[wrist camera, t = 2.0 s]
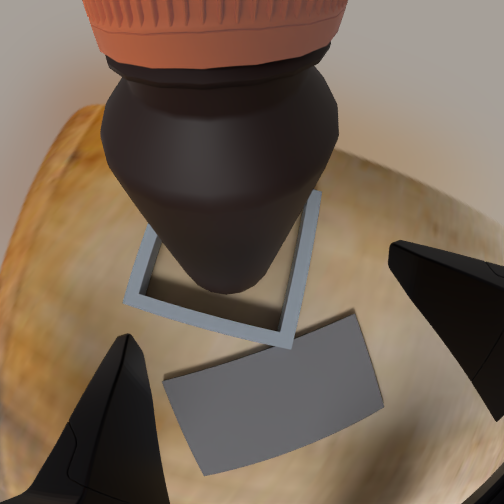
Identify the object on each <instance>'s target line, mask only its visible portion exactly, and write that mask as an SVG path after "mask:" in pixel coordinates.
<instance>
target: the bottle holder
mask: <svg viewBox="0 0 504 504" xmlns="http://www.w3.org/2000/svg"><path fill="white" fill-rule="evenodd" d="M321 195H322V192H321V191H317V190H314V189H313V191H312V193H311V194H310V196H309V198H308V200H307V202H306V203H305V205H304V207H303V212H302V217H301V223H300V228H299V233H298V238H297V243H296V248H295V253H294V257H293V262H292V267H291V272H290V276H289V281H288V286H287V290H286V295H285V299H284V303H283V308H282V312H281V317H280V321H279V325H278V329H277V331H272V330H268V329H264V328H259V327H255V326H251V325H247V324H243V323H239V322H235V321H231V320H227V319H223V318H219V317H216V316H212V315H208V314H205V313H201V312H197V311H194V310H190V309H187V308H183V307H180V306H177V305H173V304H170V303H167V302H163V301H160V300H157V299H154V298H150V297H147V296H145V294H146V291H147V287H148V284H149V281H150V277H151V274H152V271H153V268H154V264H155V261H156V258H157V255H158V252H159V249H160V246H161V243H162V241H161V239H160V238H159V237H158V235H157V234H156V233H155V231H154V230H153V229H152V227H151V226H150V224H149V223H148V225H147V228H146V231H145V233H144V236H143V239H142V242H141V245H140V248H139V251H138V254H137V257H136V260H135V263H134V266H133V269H132V272H131V276H130V279H129V282H128V286H127V289H126V292H125V296H124V299H123V304H126V305H129V306H132V307H135V308H138V309H141V310H144V311H147V312H150V313H153V314H156V315H159V316H162V317H166V318H169V319H172V320H175V321H179V322H182V323H185V324H189V325H192V326H196V327H199V328H203V329H207V330H210V331H214V332H218V333H222V334H225V335H229V336H233V337H237V338H241V339H245V340H250V341H254V342H258V343H263V344H267V345H272V346H276V347H281V348H286V349H291V348H292V344H293V340H294V336H295V331H296V327H297V322H298V318H299V313H300V309H301V304H302V300H303V295H304V290H305V285H306V280H307V275H308V270H309V265H310V260H311V254H312V249H313V243H314V238H315V232H316V226H317V220H318V214H319V208H320V201H321Z"/></svg>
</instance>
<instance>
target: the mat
mask: <svg viewBox="0 0 504 504" xmlns="http://www.w3.org/2000/svg"><path fill="white" fill-rule="evenodd" d="M162 383H163V386H164V388H165V391H166V394H167V396H168V399H169V401H170V404H171V406H172V409H173V411H174V413H175V416H176V418H177V421H178V423H179V425H180V427H181V430H182V432H183V434H184V436H185V439H186V441H187V443H188V445H189V447H190V449H191V451H192V453H193V455H194V457H195V459H196V461H197V463H198V465H199V467H200V469H201V471H202V473H203V475H204V476H207V475H212V474H216V473H221V472H225V471H229V470H233V469H237V468H241V467H244V466H248V465H251V464H255V463H258V462H261V461H264V460H267V459H271V458H274V457H276V456H279V455H282V454H285V453H288V452H291V451H293V450H296V449H298V448H301V447H304V446H306V445H308V444H311V443H313V442H316V441H318V440H320V439H323V438H325V437H327V436H329V435H332V434H334V433H336V432H338V431H340V430H342V429H344V428H346V427H348V426H350V425H352V424H354V423H356V422H358V421H360V420H362V419H364V418H366V417H367V416H369V415H371V414H373V413H375V412H376V411H378V410H380V409H382V408H383V407H384V405H383V401H382V397H381V394H380V390H379V387H378V383H377V380H376V377H375V373H374V370H373V367H372V364H371V360H370V357H369V354H368V351H367V348H366V345H365V342H364V339H363V336H362V333H361V330H360V327H359V324H358V321H357V318H356V316H355V314H352V315H350V316H347V317H345V318H343V319H341V320H338V321H336V322H334V323H331V324H329V325H327V326H324V327H322V328H320V329H317V330H315V331H312V332H310V333H307V334H305V335H302V336H300V337H297V338H295V339H294V340H293V344H292V348H291V349H286V348H281V347H276V346H274V347H271V348H268V349H265V350H262V351H260V352H257V353H254V354H251V355H248V356H245V357H242V358H239V359H236V360H233V361H230V362H227V363H224V364H220V365H217V366H214V367H211V368H207V369H204V370H201V371H197V372H194V373H190V374H186V375H183V376H179V377H175V378H172V379H168V380H164V381H162Z"/></svg>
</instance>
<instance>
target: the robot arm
mask: <svg viewBox="0 0 504 504" xmlns="http://www.w3.org/2000/svg"><path fill="white" fill-rule="evenodd" d="M388 266H389V268H390V270H391V271H392V273H393V274H394V276H395V277H396V279H397V280H398V282H399V283H400V285H401V286H402V287H403V289H404V290H405V292H406V293H407V295H408V296H409V298H410V299H411V301H412V302H413V303H414V304H415V306H416V307H417V308H418V309H419V311H420V312H421V313H422V314H423V316H424V317H425V318H426V320H427V321H428V322H429V323H430V325H431V326H432V327H433V329H434V330H435V331H436V333H437V334H438V335H439V337H440V338H441V339H442V341H443V342H444V343H445V345H446V346H447V347H448V349H449V350H450V352H451V353H452V354H453V356H454V357H455V359H456V360H457V361H458V363H459V364H460V366H461V367H462V369H463V370H464V372H465V373H466V375H467V376H468V378H469V379H470V381H471V382H472V384H473V385H474V387H475V389H476V390H477V392H478V393H479V395H480V396H481V398H482V400H483V401H484V403H485V405H486V406H487V408H488V410H489V411H490V413H491V415H492V416H493V418H494V420H495V421H496V422H497V421H498V420H500V419H501V418H502V417H503V416H504V266H500V265H497V264H493V263H489V262H485V261H482V260H478V259H475V258H471V257H467V256H464V255H460V254H456V253H452V252H448V251H444V250H440V249H436V248H432V247H428V246H424V245H420V244H416V243H411V242H407V241H403V240H398V241H395V242H393V243H391V244H390V247H389V257H388ZM0 504H170V501H169V497H168V492H167V488H166V483H165V478H164V473H163V468H162V462H161V457H160V451H159V445H158V438H157V431H156V424H155V416H154V407H153V400H152V394H151V389H150V384H149V380H148V375H147V370H146V364H145V359H144V355H143V352H142V350H141V348H140V347H139V345H138V344H137V342H136V341H135V340H134V338H133V336H132V335H131V334H128V333H127V334H124V335H120V336H118V337H117V338H116V340H115V341H114V343H113V344H112V346H111V348H110V349H109V351H108V353H107V354H106V356H105V357H104V359H103V361H102V362H101V364H100V366H99V367H98V369H97V371H96V372H95V374H94V376H93V378H92V379H91V381H90V383H89V384H88V386H87V388H86V390H85V391H84V393H83V395H82V397H81V399H80V400H79V402H78V404H77V406H76V408H75V409H74V411H73V413H72V415H71V417H70V419H69V422H67V424H66V426H65V428H64V430H63V432H62V434H61V435H60V437H59V439H58V441H57V443H56V445H55V446H54V448H53V450H52V451H51V453H50V455H49V457H48V458H47V460H46V461H45V463H44V465H43V466H42V468H41V470H40V471H39V473H38V475H37V477H36V478H35V480H34V482H33V483H32V485H31V486H30V487H29V488H28V489H27V490H26V491H25V492H23V493H22V494H20V495H18V496H15V497H13V498H10V499H8V500H5V501H3V502H0ZM462 504H504V463H503V464H502V465H501V466H500V467H499V468H498V469H497V470H496V471H495V472H494V473H493V474H492V475H491V477H490V478H489V479H488V480H487V481H486V482H485V483H484V484H482V485H481V486H480V487H479V488H478V489H477V490H476V491H475V492H474V493H473V494H472V495H471V496H470V497H468V498H467V499H466V500H465V501H464V502H463V503H462Z"/></svg>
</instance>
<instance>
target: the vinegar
mask: <svg viewBox="0 0 504 504" xmlns="http://www.w3.org/2000/svg"><path fill="white" fill-rule="evenodd" d="M82 1H83V3H84V7H85V10H86V13H87V16H88V17H89V21H90V24H91V27H92V30H93V33H94V36H95V38H96V41H97V44H98V47H99V49H100V51H101V52H103V53H104V54H105V56H106V59H107V63H108V66H109V68H110V69H112V70H113V71H114V72H116V73H117V74H119V75H120V76H122V78H121V80H120V82H119V83H118V85H117V86H116V88H115V89H114V91H113V92H112V94H111V96H110V97H109V99H108V101H107V103H106V106H105V110H104V115H103V120H102V125H101V140H102V144H103V148H104V152H105V156H106V160H107V163H108V165H109V168H110V169H111V171H112V172H113V174H114V175H115V177H116V178H117V180H118V181H119V182H120V184H121V185H122V187H123V188H124V190H125V191H126V193H127V194H128V195H129V197H130V198H131V200H132V201H133V202H134V204H135V205H136V207H137V208H138V209H139V211H140V212H141V214H142V215H143V216H144V218H145V219H146V220H147V222H148V223H149V224H150V226H151V227H152V229H153V230H154V231H155V233H156V234H157V235H158V237H159V238H160V239H161V241H162V242H163V243H164V244H165V246H166V247H167V248H168V250H169V251H170V252H171V254H172V255H173V256H174V257H175V259H176V260H177V261H178V263H179V264H180V265H181V266H182V268H183V269H184V270H185V271H186V273H187V274H188V275H189V276H190V277H191V278H192V279H193V280H194V281H195V283H196V284H197V285H199V286H201V287H202V288H204V289H206V290H208V291H210V292H214V293H219V294H225V295H227V294H233V293H240V292H243V291H245V290H247V289H249V288H251V287H253V286H254V285H255V284H256V283H257V282H258V281H259V280H260V279H261V278H262V277H263V276H264V275H265V274H266V272H267V270H268V268H269V267H270V265H271V263H272V262H273V260H274V258H275V256H276V255H277V253H278V251H279V249H280V248H281V246H282V244H283V242H284V241H285V239H286V237H287V235H288V234H289V232H290V230H291V228H292V227H293V225H294V223H295V221H296V219H297V218H298V216H299V214H300V212H301V211H302V209H303V207H304V205H305V203H306V202H307V200H308V198H309V196H310V194H311V193H312V191H313V189H314V187H315V185H316V184H317V182H318V180H319V178H320V176H321V174H322V173H323V171H324V169H325V167H326V165H327V163H328V160H329V158H330V156H331V153H332V151H333V149H334V147H335V144H336V142H337V140H338V136H339V129H338V107H337V103H336V101H335V99H334V97H333V95H332V93H331V91H330V89H329V87H328V85H327V83H326V81H325V79H324V77H323V76H322V75H321V74H320V72H319V71H318V70H317V69H316V67H315V66H314V65H316V64H318V63H319V62H320V61H321V59H322V58H323V57H324V55H325V54H326V52H327V51H328V50H329V48H330V44H331V40H332V38H333V37H334V36H335V35H336V33H337V32H338V29H339V26H340V23H341V20H342V17H343V14H344V11H345V8H346V5H347V1H348V0H82Z"/></svg>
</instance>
